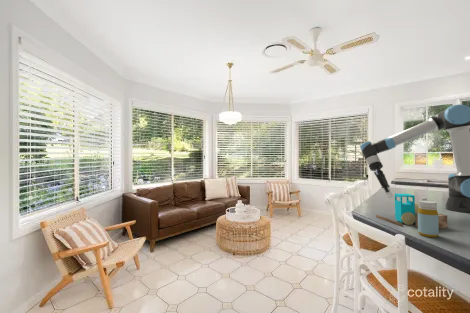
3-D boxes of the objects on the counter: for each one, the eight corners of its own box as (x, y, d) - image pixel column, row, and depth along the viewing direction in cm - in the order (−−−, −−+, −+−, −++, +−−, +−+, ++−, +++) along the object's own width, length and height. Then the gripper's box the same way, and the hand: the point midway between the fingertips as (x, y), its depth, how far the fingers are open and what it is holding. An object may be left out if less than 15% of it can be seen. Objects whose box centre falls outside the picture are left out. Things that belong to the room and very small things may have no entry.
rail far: (377, 217, 134) (377, 214, 134) (403, 226, 116) (403, 223, 116) (375, 217, 134) (375, 215, 134) (401, 226, 116) (401, 224, 116)
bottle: (414, 232, 106) (413, 200, 106) (428, 232, 107) (427, 199, 107) (428, 238, 99) (427, 203, 99) (443, 237, 100) (442, 202, 100)
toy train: (438, 225, 116) (438, 196, 116) (402, 224, 119) (401, 195, 119) (428, 221, 123) (428, 193, 123) (394, 220, 127) (393, 193, 127)
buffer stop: (438, 225, 117) (438, 213, 117) (447, 227, 112) (447, 215, 112) (412, 226, 115) (412, 214, 115) (421, 229, 111) (420, 216, 111)
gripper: (372, 167, 159) (387, 200, 148) (365, 163, 151) (380, 198, 140) (383, 162, 154) (400, 196, 144) (376, 159, 146) (394, 194, 135)
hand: (390, 197), depth 142 cm, fingers closed
